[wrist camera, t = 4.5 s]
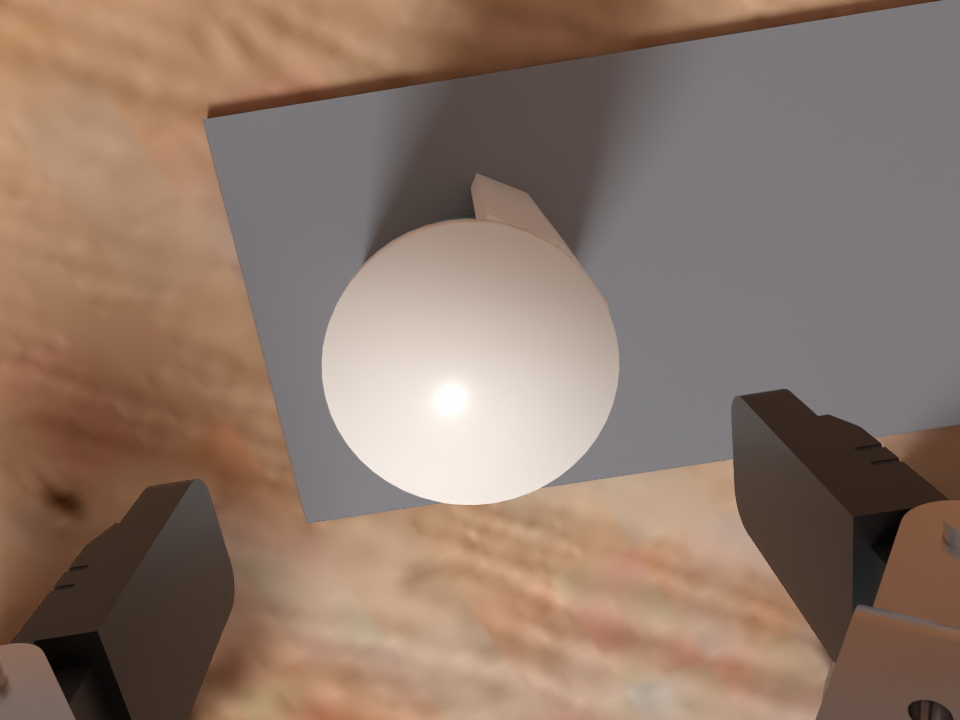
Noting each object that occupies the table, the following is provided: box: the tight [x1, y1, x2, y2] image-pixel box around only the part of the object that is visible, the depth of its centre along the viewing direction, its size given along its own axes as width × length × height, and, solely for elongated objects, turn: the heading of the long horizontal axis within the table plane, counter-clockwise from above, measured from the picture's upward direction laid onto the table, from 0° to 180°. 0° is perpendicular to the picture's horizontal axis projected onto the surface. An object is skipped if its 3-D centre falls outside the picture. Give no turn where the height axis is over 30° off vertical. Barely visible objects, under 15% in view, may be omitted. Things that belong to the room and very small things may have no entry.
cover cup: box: [322, 173, 619, 505], centre depth 21 cm, size 6×6×9 cm
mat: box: [203, 0, 960, 523], centre depth 26 cm, size 24×14×1 cm, turn 99°
